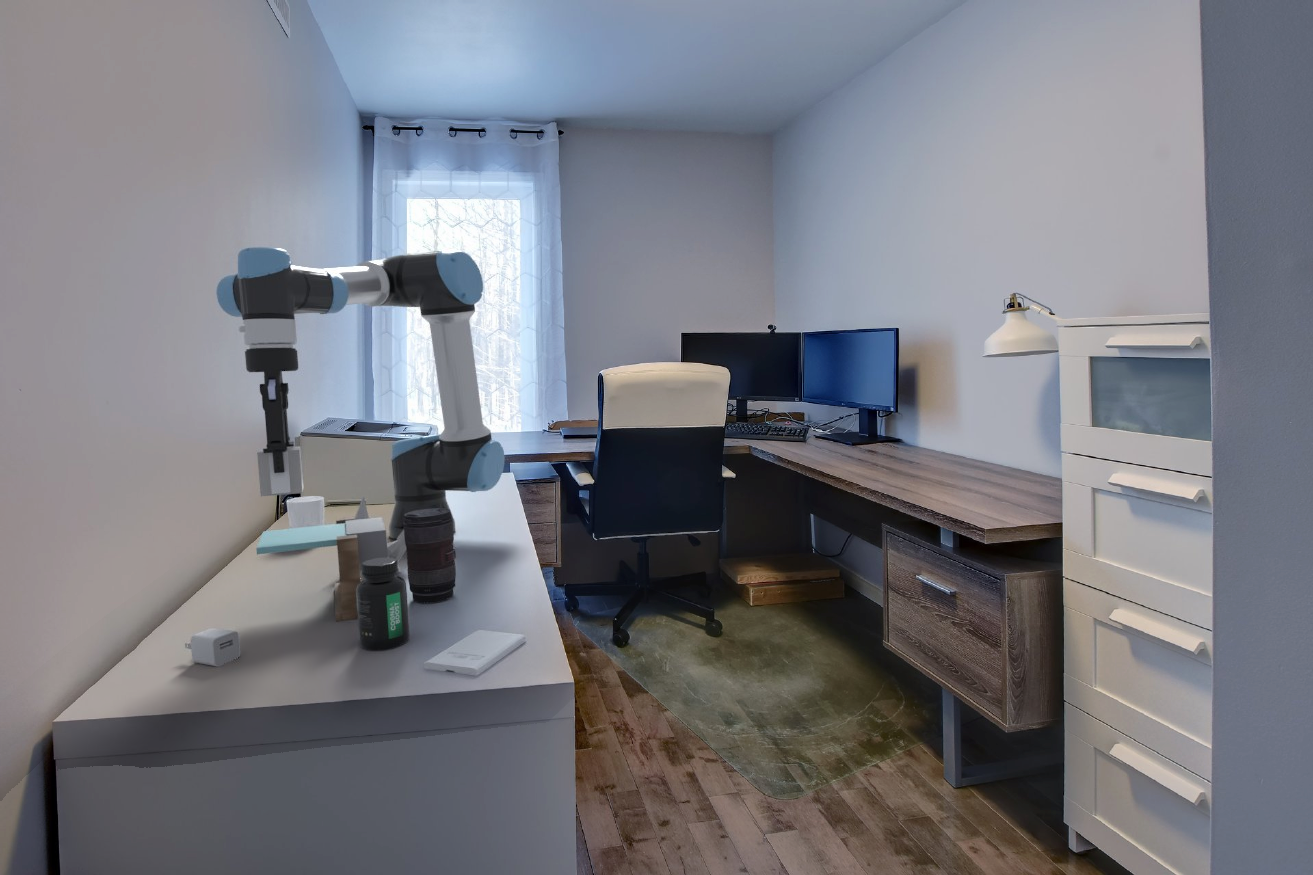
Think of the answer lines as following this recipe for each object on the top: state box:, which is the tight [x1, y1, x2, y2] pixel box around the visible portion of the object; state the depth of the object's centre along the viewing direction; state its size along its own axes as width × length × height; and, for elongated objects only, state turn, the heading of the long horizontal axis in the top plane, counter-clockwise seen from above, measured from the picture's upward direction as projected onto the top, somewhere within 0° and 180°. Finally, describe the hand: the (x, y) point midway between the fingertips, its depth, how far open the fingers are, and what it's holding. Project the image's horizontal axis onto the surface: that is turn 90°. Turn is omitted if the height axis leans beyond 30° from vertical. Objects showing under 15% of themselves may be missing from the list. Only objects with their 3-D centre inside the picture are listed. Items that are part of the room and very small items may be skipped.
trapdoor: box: [255, 516, 388, 563], centre depth 129 cm, size 19×13×5 cm
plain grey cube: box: [256, 446, 305, 497], centre depth 125 cm, size 6×6×7 cm
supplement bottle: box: [356, 558, 410, 651], centre depth 111 cm, size 7×7×12 cm
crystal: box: [354, 496, 407, 578], centre depth 150 cm, size 10×13×15 cm
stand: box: [334, 516, 364, 622], centre depth 130 cm, size 5×19×13 cm, turn 23°
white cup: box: [286, 495, 325, 529], centre depth 178 cm, size 8×8×10 cm
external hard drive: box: [423, 629, 526, 676], centre depth 106 cm, size 2×8×12 cm
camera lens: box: [403, 508, 457, 604], centre depth 132 cm, size 8×8×15 cm
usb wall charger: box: [184, 627, 241, 667], centre depth 107 cm, size 4×7×4 cm, turn 67°
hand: (282, 489), depth 125 cm, fingers closed on plain grey cube, 6 cm apart
